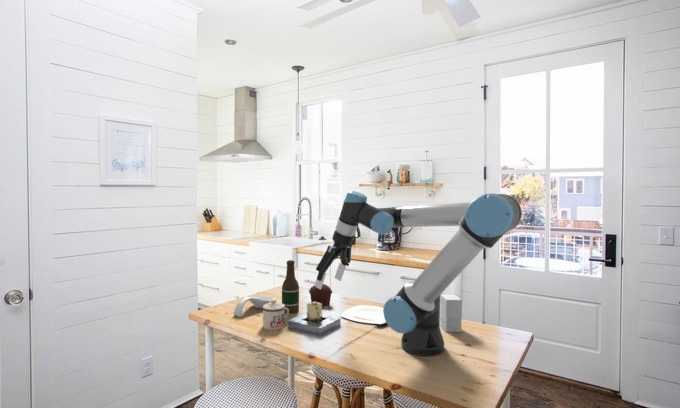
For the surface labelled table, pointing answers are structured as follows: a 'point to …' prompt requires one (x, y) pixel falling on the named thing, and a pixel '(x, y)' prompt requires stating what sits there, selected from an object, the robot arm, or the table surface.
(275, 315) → the teacup with lid
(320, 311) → the yellow can
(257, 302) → the spoon rest
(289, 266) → the beer bottle
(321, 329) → the frame
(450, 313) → the small box
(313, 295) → the muffin
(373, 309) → the plate
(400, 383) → the table surface
